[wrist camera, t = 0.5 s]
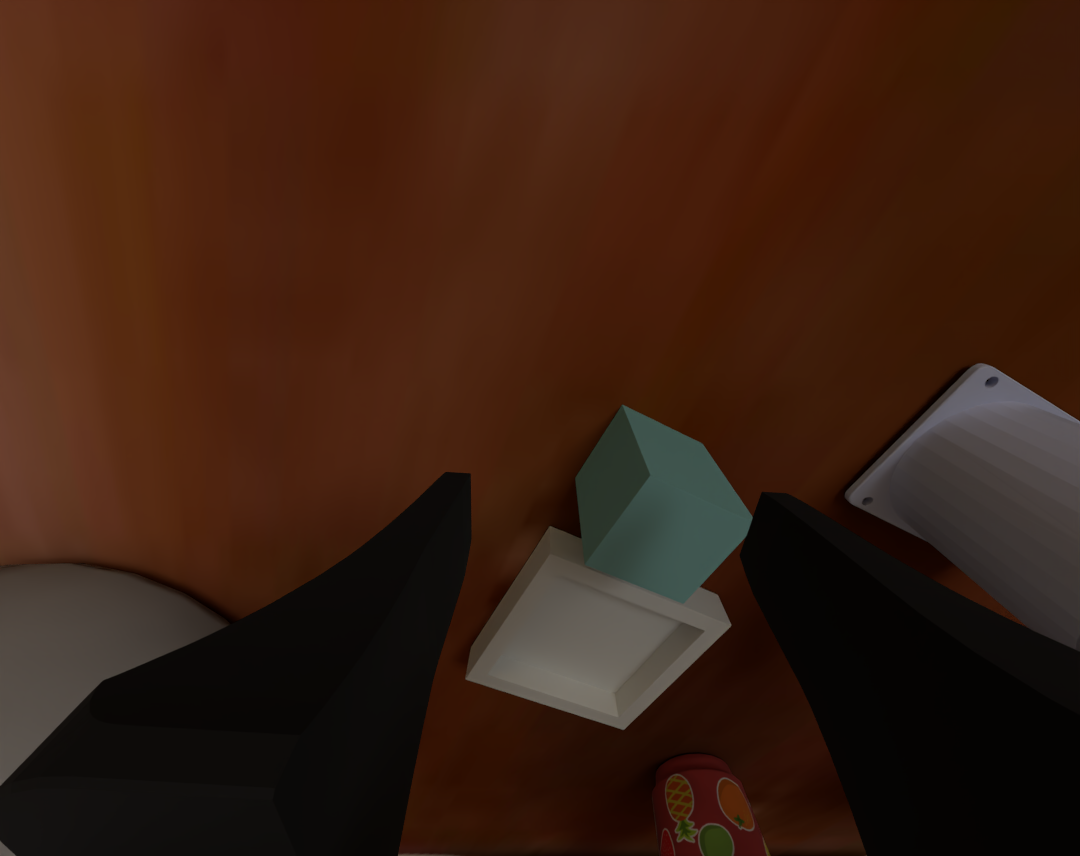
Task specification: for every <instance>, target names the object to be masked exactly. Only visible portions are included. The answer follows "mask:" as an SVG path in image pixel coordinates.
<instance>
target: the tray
mask: <svg viewBox="0 0 1080 856" xmlns="http://www.w3.org/2000/svg"><path fill="white" fill-rule="evenodd" d="M731 626H732V625H731V623H730V621H729V619H728V616H727V614H726V612H725V610H724V608H723V605H722V603H721V601H720V599H719V596H718V595H717V594H715V593H713V592H710V591H708V590H705V589H703V588H700V587H699V588H698V589H697V590H696V591H695V592H694V593H693V594H692V595H691V596H690V597H689V598H688V600H687V601H686V602H685V603H684V604H682V603H680V602H677V601H674V600H672V599H669V598H667V597H664V596H662V595H659V594H657V593H654V592H652V591H649V590H647V589H644V588H642V587H639V586H637V585H634V584H632V583H629V582H627V581H624V580H622V579H619V578H617V577H614V576H612V575H609V574H607V573H604V572H602V571H599V570H596V569H594V568H591V567H589V566H586V565H585V564H584V555H583V546H582V539H581V538H578V537H576V536H574V535H571V534H569V533H566V532H564V531H561V530H559V529H556V528H554V527H552V526H550V527H549V528H548V530H547V531H546V533H545V534H544V536H543V537H542V539H541V540H540V542H539V543H538V545H537V546H536V548H535V550H534V551H533V553H532V554H531V556H530V557H529V559H528V560H527V562H526V563H525V565H524V566H523V568H522V569H521V571H520V573H519V574H518V576H517V577H516V579H515V580H514V582H513V583H512V585H511V586H510V588H509V589H508V591H507V593H506V594H505V596H504V597H503V599H502V600H501V602H500V603H499V605H498V606H497V608H496V609H495V611H494V612H493V614H492V616H491V617H490V619H489V620H488V622H487V623H486V625H485V626H484V628H483V629H482V631H481V632H480V634H479V636H478V637H477V639H476V640H475V642H474V643H473V645H472V646H471V649H470V655H469V661H468V666H467V672H466V678H465V679H466V680H469V681H472V682H475V683H479V684H482V685H485V686H488V687H491V688H494V689H497V690H500V691H504V692H507V693H510V694H513V695H516V696H519V697H522V698H525V699H529V700H532V701H535V702H538V703H541V704H544V705H547V706H550V707H554V708H557V709H560V710H563V711H566V712H569V713H572V714H575V715H579V716H582V717H585V718H588V719H591V720H594V721H597V722H600V723H604V724H607V725H610V726H613V727H616V728H619V729H622V730H624V729H625V728H626V727H627V726H628V725H629V724H630V723H631V722H633V721H634V720H635V719H636V718H637V717H638V716H639V715H640V714H641V713H642V712H643V711H644V710H645V709H646V708H647V707H648V706H649V705H650V704H651V703H652V702H653V701H654V700H655V699H656V698H657V697H658V696H659V695H660V694H661V693H662V692H664V691H665V690H666V689H667V688H668V687H669V686H670V685H671V684H672V683H673V682H674V681H675V680H676V679H677V678H678V677H679V676H680V675H681V674H682V673H683V672H684V671H685V670H686V669H687V668H688V667H689V666H690V665H691V664H692V663H694V662H695V661H696V660H697V659H698V658H699V657H700V656H701V655H702V654H703V653H704V652H705V651H706V650H707V649H708V648H709V647H710V646H711V645H712V644H713V643H714V642H715V641H716V640H717V639H718V638H719V637H720V636H721V635H722V634H724V633H725V632H726V631H727V630H728V629H729V628H730V627H731Z"/></svg>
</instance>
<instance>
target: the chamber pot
mask: <svg viewBox="0 0 1080 856" xmlns="http://www.w3.org/2000/svg"><path fill="white" fill-rule="evenodd" d="M228 625H230V623H229V622H228V621H227V620H226V619H224V618H223V617H221V616H220V615H218V614H217V613H215V612H213V611H212V610H210V609H209V608H207V607H205V606H204V605H202V604H201V603H199V602H198V601H196V600H194V599H193V598H191V597H190V596H188V595H187V594H185V593H183V592H180V591H178V590H175V589H173V588H170V587H168V586H165V585H163V584H160V583H158V582H155V581H153V580H150V579H148V578H145V577H143V576H140V575H138V574H135V573H130V572H125V571H120V570H115V569H110V568H105V567H100V566H95V565H90V564H85V563H63V564H15V565H3V566H0V786H1V785H2V784H3V783H4V781H5V780H6V779H7V778H8V777H9V776H10V775H11V774H12V773H13V772H14V771H15V770H16V769H17V768H18V767H19V766H20V765H21V764H22V763H23V762H24V761H25V760H26V759H27V758H28V757H29V756H30V755H31V754H32V753H33V752H34V750H35V749H36V748H37V747H38V746H39V745H40V744H41V743H42V742H43V741H44V740H45V739H46V738H47V737H48V736H49V735H50V734H51V733H52V732H53V731H54V730H55V729H56V728H57V727H58V726H59V725H60V724H61V723H62V722H63V721H64V719H65V718H66V717H67V716H68V715H69V714H70V713H71V712H72V711H73V710H74V709H75V708H76V707H77V706H78V705H79V704H80V703H81V702H82V701H83V700H84V699H85V698H86V697H87V696H88V695H89V694H90V693H91V692H92V691H93V690H94V689H95V688H96V687H97V686H98V685H99V684H100V683H101V682H102V681H103V680H105V679H108V678H110V677H113V676H115V675H118V674H120V673H123V672H125V671H128V670H130V669H132V668H135V667H137V666H139V665H142V664H144V663H146V662H149V661H151V660H153V659H156V658H158V657H160V656H163V655H165V654H167V653H170V652H172V651H174V650H177V649H179V648H181V647H184V646H186V645H188V644H190V643H193V642H195V641H197V640H199V639H201V638H203V637H206V636H208V635H210V634H212V633H214V632H216V631H218V630H220V629H222V628H224V627H226V626H228ZM0 856H16V855H15V854H13V853H12V852H11V851H10V850H9V849H8V848H7V847H6V846H5V845H4V844H3V843H2V842H1V841H0Z"/></svg>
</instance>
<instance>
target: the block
mask: <svg viewBox="0 0 1080 856" xmlns="http://www.w3.org/2000/svg"><path fill="white" fill-rule="evenodd" d="M575 481H576V490H577V500H578V509H579V518H580V527H581V536H582V546H583V555H584V564H585V565H586V566H589V567H591V568H594V569H596V570H599V571H602V572H604V573H607V574H609V575H612V576H614V577H617V578H619V579H622V580H624V581H627V582H629V583H632V584H634V585H637V586H639V587H642V588H644V589H647V590H649V591H652V592H654V593H657V594H659V595H662V596H664V597H667V598H669V599H672V600H674V601H677V602H680V603H682V604H684V603H685V602H686V601H687V600H688V598H689V597H690V596H691V595H692V594H693V593H694V592H695V591H696V590H697V589H698V588H699V587H700V586H701V584H702V583H703V582H704V581H705V580H706V579H707V578H708V577H709V576H710V575H711V574H712V573H713V572H714V570H715V569H716V568H717V567H718V566H719V565H720V564H721V563H722V562H723V561H724V560H725V559H726V558H727V556H728V555H729V554H730V553H731V552H732V551H733V550H734V549H735V548H736V547H737V546H738V545H739V544H740V542H741V541H742V540H743V539H744V538H745V537H746V536H747V533H748V530H749V527H750V524H751V521H752V519H753V517H752V516H751V514H750V513H749V511H748V510H747V508H746V507H745V505H744V504H743V502H742V501H741V499H740V498H739V497H738V495H737V494H736V492H735V491H734V489H733V488H732V486H731V485H730V483H729V482H728V480H727V479H726V478H725V476H724V475H723V473H722V472H721V470H720V469H719V467H718V466H717V464H716V463H715V461H714V460H713V458H712V457H711V456H710V454H709V453H708V451H707V450H706V448H705V447H704V445H703V444H702V443H700V442H698V441H696V440H694V439H692V438H690V437H687V436H685V435H683V434H681V433H679V432H677V431H675V430H673V429H671V428H669V427H667V426H665V425H663V424H661V423H659V422H657V421H655V420H653V419H651V418H649V417H647V416H644V415H642V414H640V413H638V412H636V411H634V410H632V409H630V408H628V407H626V406H624V405H622V406H621V407H620V409H619V411H618V412H617V414H616V415H615V417H614V418H613V420H612V421H611V423H610V425H609V426H608V428H607V429H606V431H605V432H604V434H603V435H602V437H601V438H600V440H599V442H598V443H597V445H596V446H595V448H594V449H593V451H592V452H591V454H590V456H589V457H588V459H587V460H586V462H585V463H584V465H583V466H582V468H581V470H580V471H579V473H578V474H577V476H576V477H575Z"/></svg>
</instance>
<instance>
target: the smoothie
mask: <svg viewBox="0 0 1080 856" xmlns="http://www.w3.org/2000/svg"><path fill="white" fill-rule="evenodd" d="M655 780H656V786H655V788H654V789H653V790H652V803H653V810H654V818H655V826H656V833H657V841H658V849H659V856H770V854H769V851H768V849H767V846H766V844H765V841H764V839H763V836H762V834H761V831H760V829H759V826H758V824H757V821H756V819H755V816H754V814H753V811H752V808H751V806H750V803H749V801H748V798H747V796H746V793H745V791H744V788H743V786H742V783H741V781H740V780H738V779H737V778H736V777H735V776H734V775H732V773H731V771H730V769H729V767H728V765H727V764H726V763H725V762H724V761H723V760H722V759H719V758H717V757H714V756H712V755H707V754H701V753H696V754H685V755H680V756H676V757H674V758H672V759H669V760H668V761H666V762H665V763H663V764H662V765H661V766H660V767H659V768H658V770H657V771H656V777H655Z"/></svg>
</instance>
